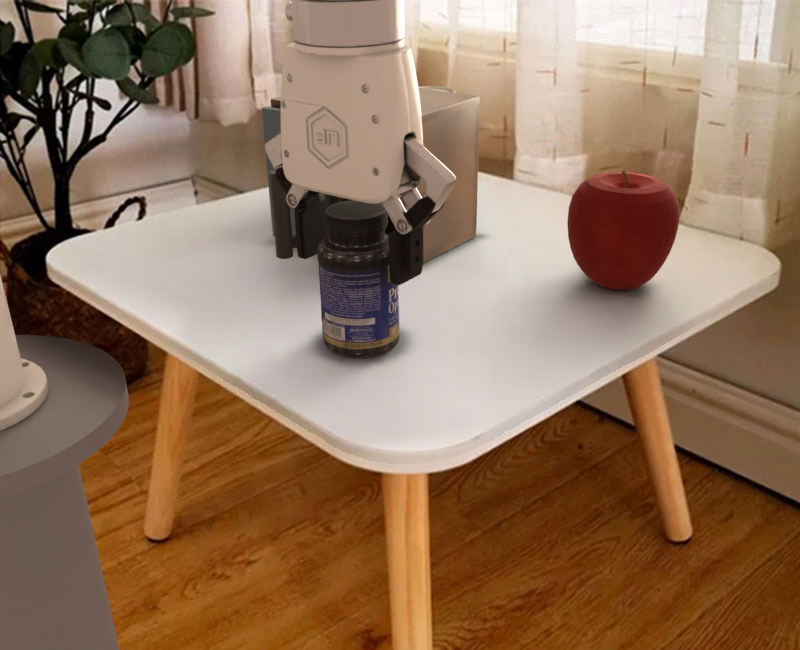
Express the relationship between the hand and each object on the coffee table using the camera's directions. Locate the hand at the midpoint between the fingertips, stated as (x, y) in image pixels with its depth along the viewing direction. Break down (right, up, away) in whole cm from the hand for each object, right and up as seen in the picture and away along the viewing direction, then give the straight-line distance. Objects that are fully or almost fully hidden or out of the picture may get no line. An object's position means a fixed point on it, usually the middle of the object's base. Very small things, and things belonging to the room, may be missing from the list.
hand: (358, 265), depth 72 cm
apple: (+23, 0, +13) cm, 26 cm away
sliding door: (-8, +4, +20) cm, 22 cm away
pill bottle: (0, -6, +3) cm, 7 cm away
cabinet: (+1, +6, +24) cm, 25 cm away
